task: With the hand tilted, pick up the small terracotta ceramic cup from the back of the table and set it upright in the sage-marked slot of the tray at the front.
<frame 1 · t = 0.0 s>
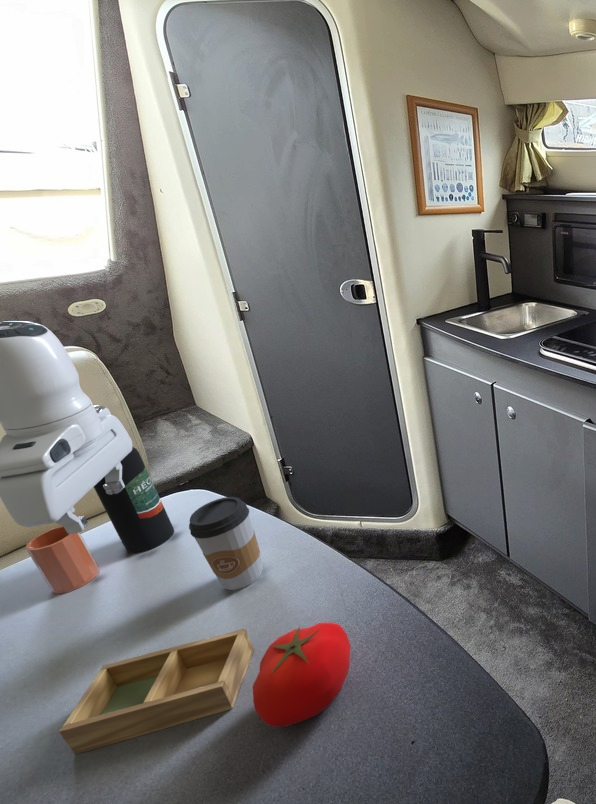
hand: (99, 509, 76), 21 cm above the table, tool pointing down, fingers open, 8 cm apart
wine bottle: (151, 540, 100), on the table
tomato: (313, 695, 69), on the table
coffee cup: (244, 577, 90), on the table
tray: (173, 697, 69), on the table
tumbler: (76, 579, 91), on the table
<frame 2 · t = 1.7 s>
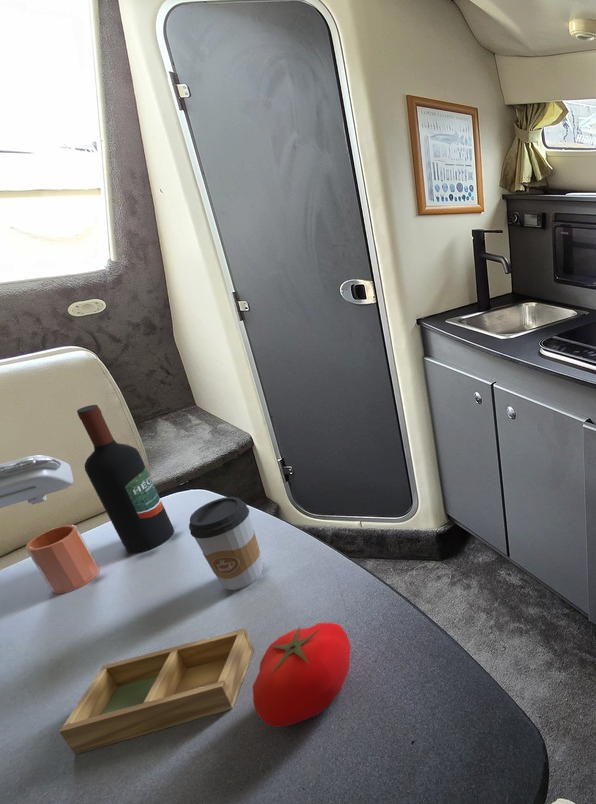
nothing on the table moved.
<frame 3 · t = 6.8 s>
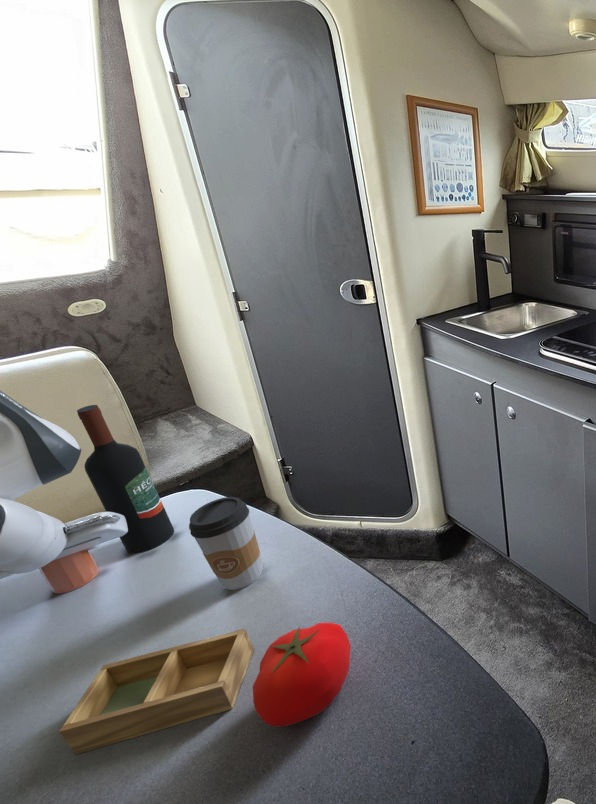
hand: (63, 555, 89), 5 cm above the table, tool tilted 45°, fingers closed on tumbler, 6 cm apart
tumbler: (76, 579, 91), on the table, touching gripper
everything else where it was.
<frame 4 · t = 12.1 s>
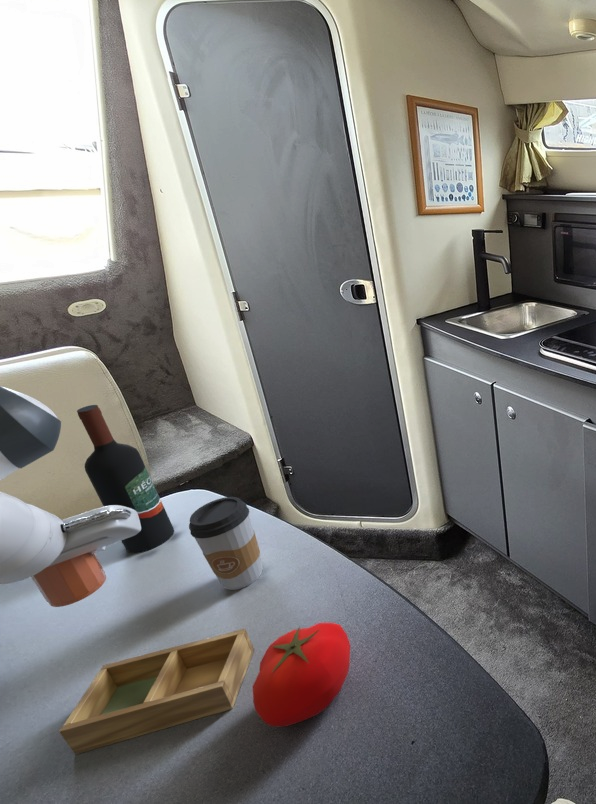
hand: (62, 559, 72), 17 cm above the table, tool tilted 45°, fingers closed on tumbler, 6 cm apart
tumbler: (78, 589, 74), point 11 cm above the table, touching gripper
everything else where it was.
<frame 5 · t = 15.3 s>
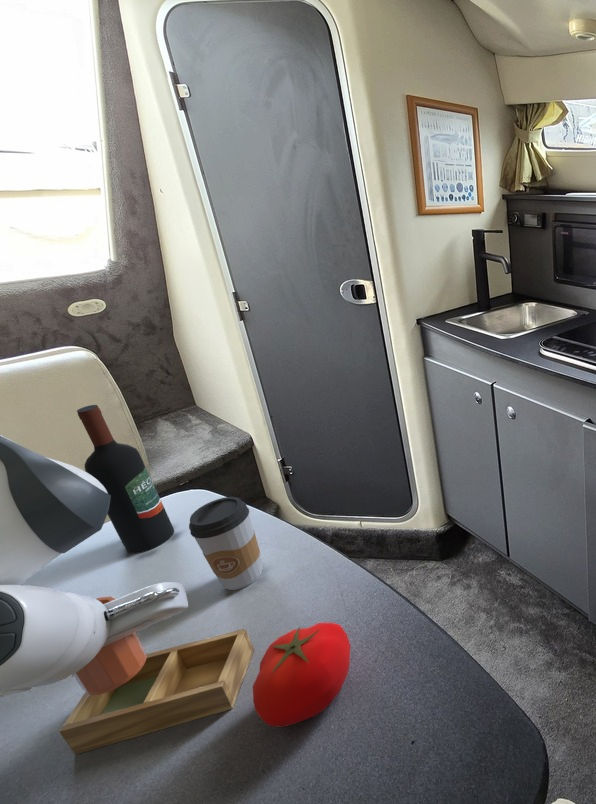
hand: (99, 640, 64), 13 cm above the table, tool tilted 45°, fingers closed on tumbler, 6 cm apart
tumbler: (116, 671, 66), point 7 cm above the table, touching gripper
everything else where it was.
when the fingers open (6 cm above the table, at t = 17.7 s): tumbler stays where it is, resting on tray.
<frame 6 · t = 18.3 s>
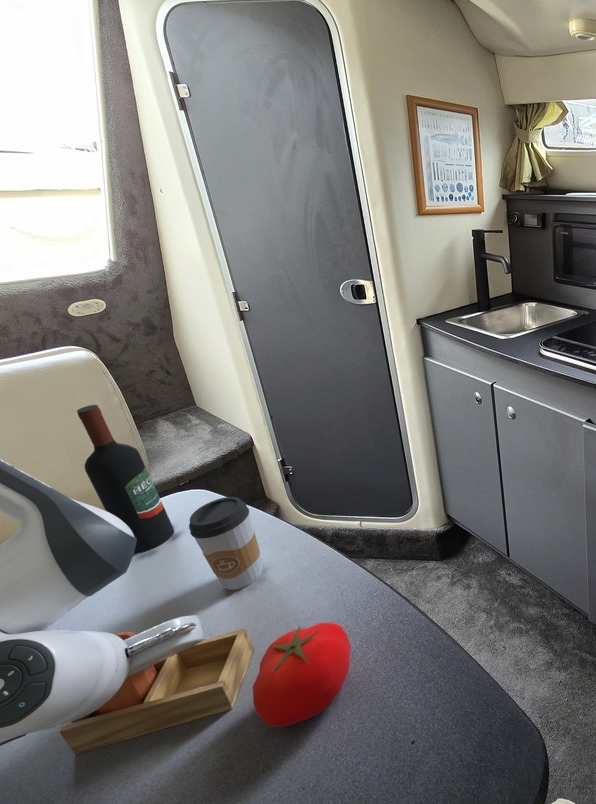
hand: (118, 671, 66), 7 cm above the table, tool tilted 45°, fingers open, 8 cm apart
tumbler: (135, 703, 68), point 1 cm above the table, touching tray
everything else where it was.
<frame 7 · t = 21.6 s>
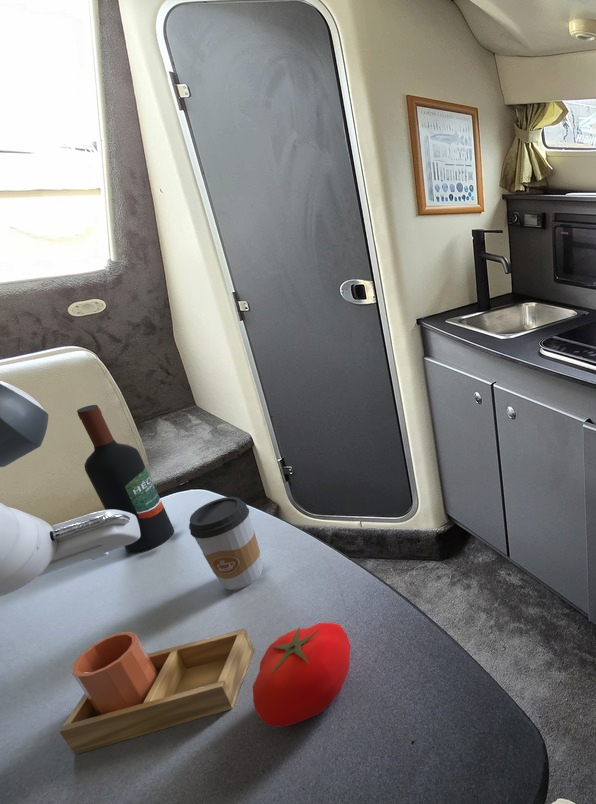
hand: (51, 568, 65), 21 cm above the table, tool tilted 45°, fingers open, 8 cm apart
nothing on the table moved.
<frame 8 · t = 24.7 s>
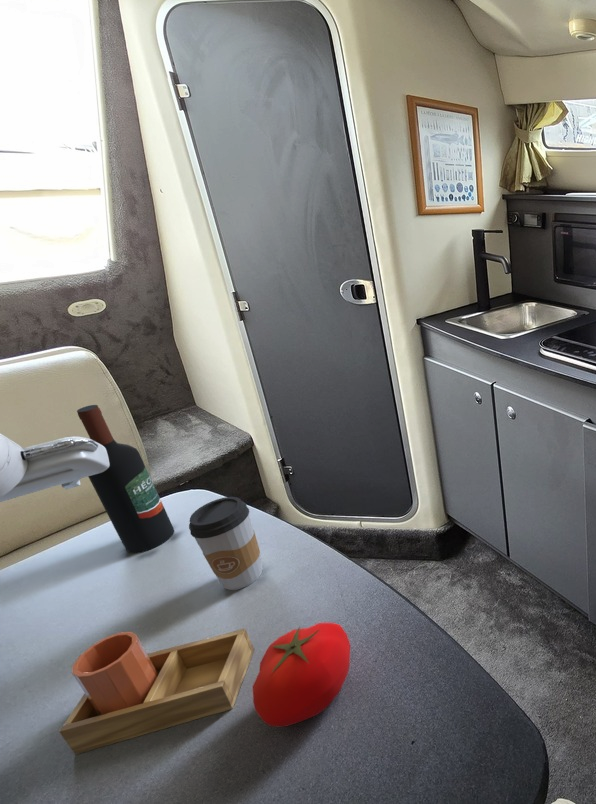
hand: (26, 496, 69), 27 cm above the table, tool tilted 45°, fingers open, 8 cm apart
nothing on the table moved.
at the end: tumbler 0.0 cm from the target spot in the tray, point 0.8 cm above the tray's base; tumbler tilted 0°; the gripper is holding nothing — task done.
